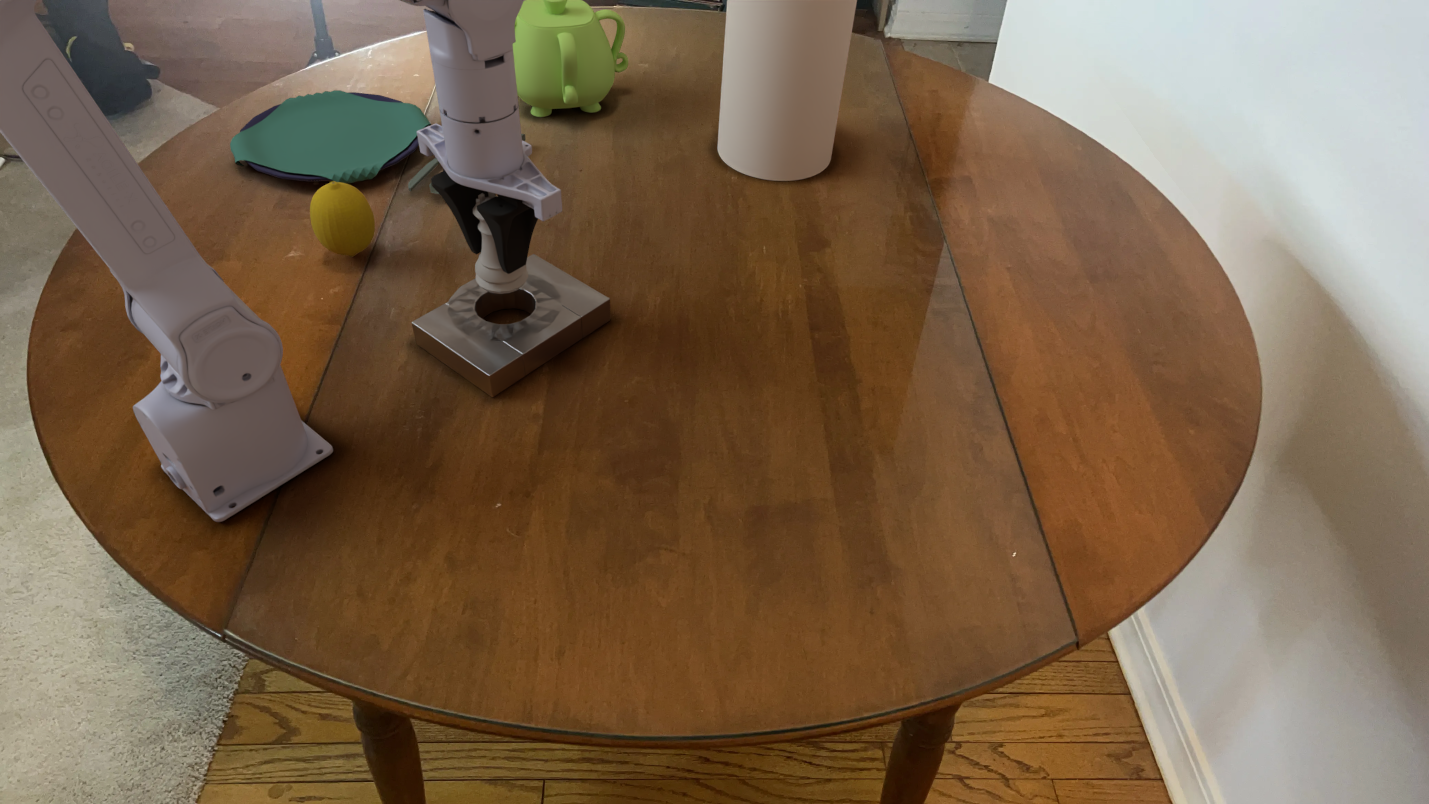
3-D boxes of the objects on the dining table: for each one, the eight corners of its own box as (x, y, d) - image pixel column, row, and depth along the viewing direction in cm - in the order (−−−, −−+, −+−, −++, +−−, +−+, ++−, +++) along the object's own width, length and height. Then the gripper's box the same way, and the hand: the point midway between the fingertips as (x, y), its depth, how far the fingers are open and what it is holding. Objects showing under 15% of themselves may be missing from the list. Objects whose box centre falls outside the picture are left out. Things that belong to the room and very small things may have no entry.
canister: (827, 187, 102) (856, 6, 88) (708, 171, 103) (719, -10, 89) (834, 131, 111) (862, -40, 97) (726, 117, 112) (738, -54, 98)
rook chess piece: (531, 265, 79) (523, 185, 74) (525, 297, 76) (516, 215, 70) (480, 264, 79) (468, 183, 73) (471, 295, 76) (458, 213, 70)
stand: (492, 398, 75) (488, 375, 73) (409, 339, 79) (404, 317, 77) (610, 320, 83) (610, 298, 81) (529, 271, 87) (526, 249, 86)
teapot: (469, 98, 112) (454, -7, 103) (545, 60, 121) (537, -39, 112) (569, 138, 106) (562, 31, 97) (642, 95, 115) (641, -6, 106)
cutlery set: (309, 95, 110) (304, 77, 108) (538, 139, 106) (536, 121, 104) (201, 174, 96) (193, 154, 95) (459, 228, 92) (456, 209, 90)
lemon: (365, 276, 85) (346, 203, 80) (311, 266, 86) (288, 193, 80) (392, 244, 89) (375, 172, 84) (339, 235, 90) (319, 163, 84)
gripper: (587, 120, 66) (594, 272, 75) (458, 58, 72) (479, 206, 81) (514, 155, 62) (530, 311, 71) (383, 86, 68) (414, 238, 77)
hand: (499, 257), depth 76 cm, fingers closed on rook chess piece, 3 cm apart
